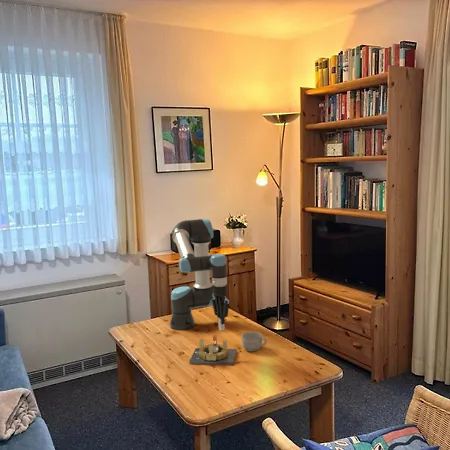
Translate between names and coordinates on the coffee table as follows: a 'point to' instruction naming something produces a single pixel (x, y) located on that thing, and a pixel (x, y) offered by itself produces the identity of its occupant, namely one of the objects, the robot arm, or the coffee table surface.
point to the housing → (225, 361)
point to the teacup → (252, 341)
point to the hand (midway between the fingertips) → (221, 329)
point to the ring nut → (209, 348)
